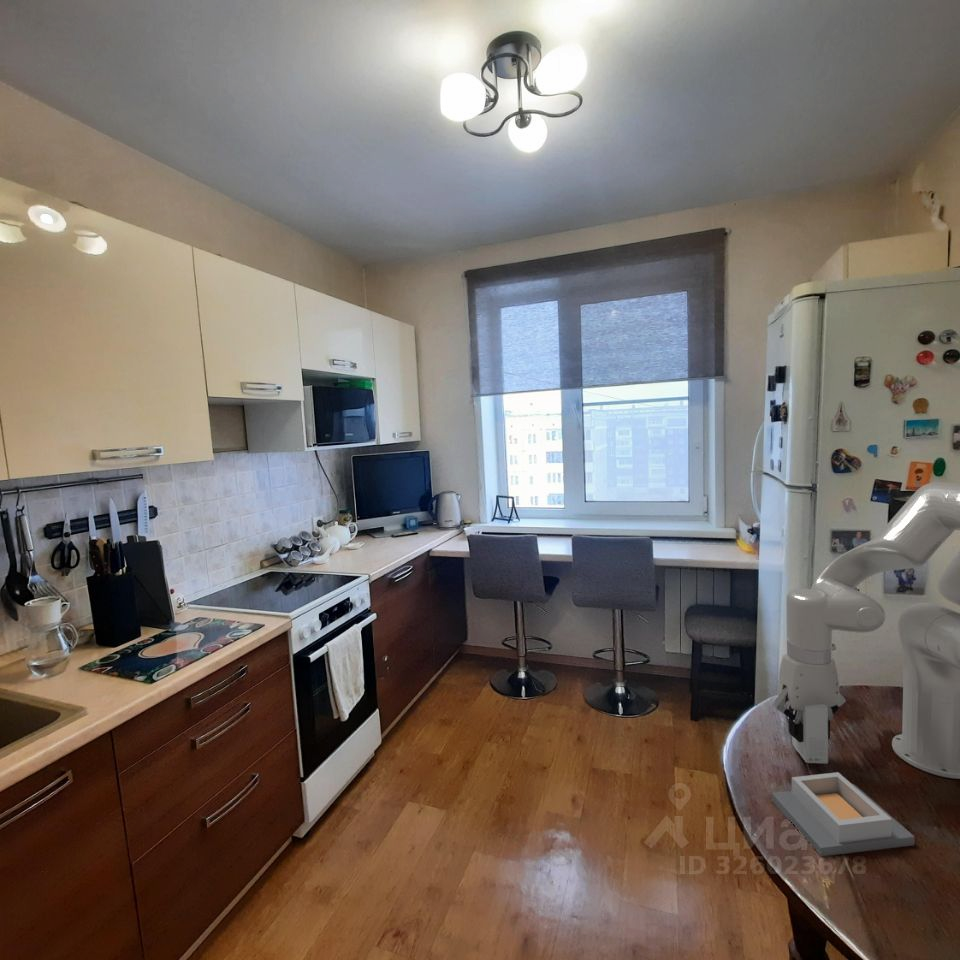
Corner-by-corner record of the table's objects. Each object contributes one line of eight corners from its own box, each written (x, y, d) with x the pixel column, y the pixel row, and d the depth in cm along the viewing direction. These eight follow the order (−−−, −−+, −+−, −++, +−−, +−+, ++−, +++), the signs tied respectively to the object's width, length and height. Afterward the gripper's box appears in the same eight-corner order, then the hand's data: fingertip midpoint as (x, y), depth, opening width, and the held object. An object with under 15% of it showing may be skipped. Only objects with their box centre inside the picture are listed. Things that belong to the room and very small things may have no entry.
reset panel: (853, 791, 91) (853, 768, 91) (914, 845, 79) (915, 819, 79) (771, 800, 90) (771, 777, 90) (820, 856, 78) (820, 830, 78)
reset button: (836, 800, 89) (836, 792, 89) (874, 836, 81) (874, 828, 81) (805, 804, 89) (805, 796, 88) (840, 840, 81) (840, 832, 80)
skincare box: (829, 764, 97) (828, 707, 95) (805, 763, 97) (805, 707, 96) (813, 744, 102) (812, 690, 101) (791, 744, 103) (790, 690, 102)
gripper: (834, 639, 102) (834, 721, 104) (756, 647, 101) (757, 729, 103) (865, 656, 94) (864, 743, 96) (780, 664, 94) (781, 753, 95)
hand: (809, 735), depth 100 cm, fingers closed on skincare box, 4 cm apart
